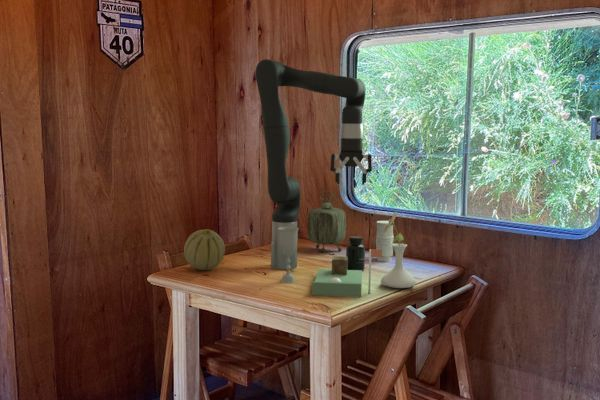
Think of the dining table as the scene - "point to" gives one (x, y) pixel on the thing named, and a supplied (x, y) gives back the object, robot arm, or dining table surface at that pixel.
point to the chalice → (288, 249)
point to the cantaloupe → (204, 249)
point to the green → (337, 283)
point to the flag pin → (371, 254)
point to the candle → (384, 241)
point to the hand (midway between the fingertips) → (350, 184)
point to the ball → (335, 280)
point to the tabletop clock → (326, 224)
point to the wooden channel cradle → (339, 265)
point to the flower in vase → (397, 264)
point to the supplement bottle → (355, 253)
